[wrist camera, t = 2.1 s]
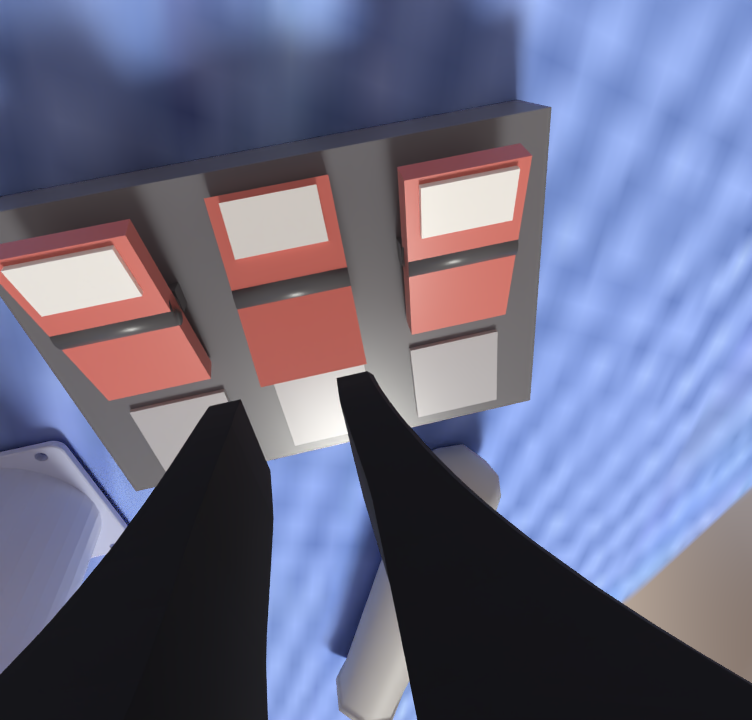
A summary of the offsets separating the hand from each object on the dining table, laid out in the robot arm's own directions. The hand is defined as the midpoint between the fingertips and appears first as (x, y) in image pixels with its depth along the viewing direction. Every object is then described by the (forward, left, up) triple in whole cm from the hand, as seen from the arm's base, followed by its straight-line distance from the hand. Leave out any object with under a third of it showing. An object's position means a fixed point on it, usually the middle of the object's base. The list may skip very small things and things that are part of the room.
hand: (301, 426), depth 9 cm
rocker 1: (-6, 0, -7) cm, 9 cm away
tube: (+2, -24, -11) cm, 26 cm away
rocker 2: (0, 0, -7) cm, 7 cm away
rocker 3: (+5, 0, -7) cm, 9 cm away
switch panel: (0, -2, -10) cm, 11 cm away
